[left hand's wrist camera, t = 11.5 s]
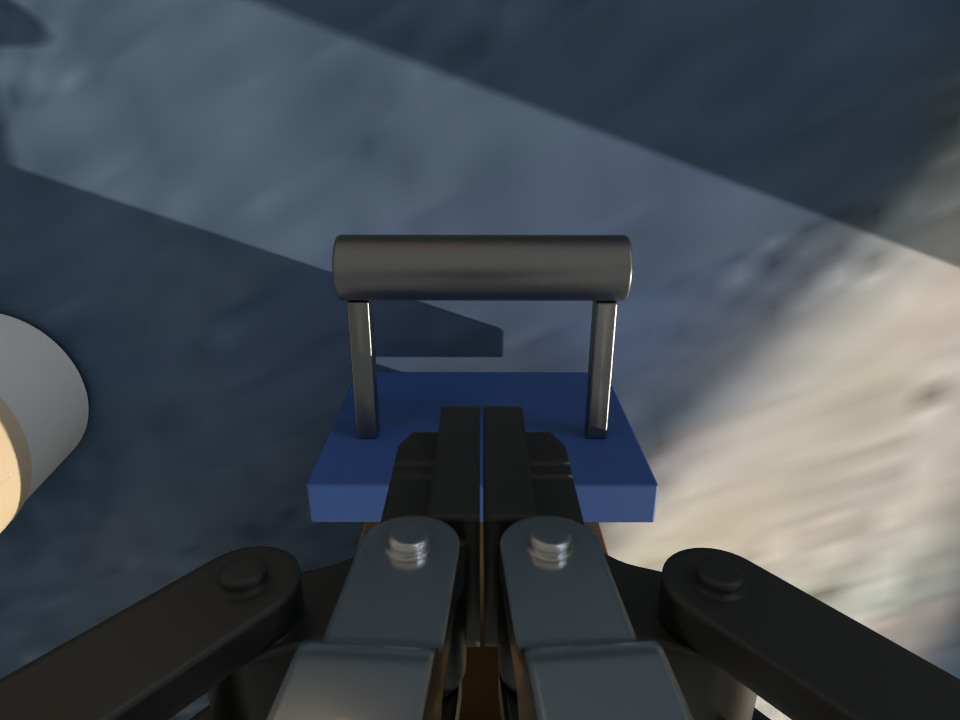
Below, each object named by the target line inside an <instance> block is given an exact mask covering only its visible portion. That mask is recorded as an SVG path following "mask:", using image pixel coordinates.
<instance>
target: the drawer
mask: <svg viewBox="0 0 960 720" xmlns="http://www.w3.org/2000/svg"><path fill="white" fill-rule="evenodd" d="M332 270H333V281H334V287H335V291H336V294H337V296H338V298H339V299H341V300H348V302H347V310H348V323H349V336H350V349H351V362H352V375H353V383H352V385H351V387H350V389H349V391H348V394H347V396H346V398H345V400H344V403H343V405H342V407H341V409H340V411H339V414H338V416H337V418H336V420H335V422H334V425H333V427H332V429H331V431H330V434H329V436H328V438H327V440H326V442H325V445H324V447H323V449H322V451H321V453H320V456H319V458H318V460H317V462H316V464H315V467H314V469H313V471H312V473H311V476H310V478H309V480H308V482H307V485H306V489H307V498H308V507H309V516H310V520H311V521H312V522H364V526H363V529H362V533H361V537H360V540H359V544H358V547H359V545H360V542H361V540H362V539H363V537H364V536H365V535H366V533H367V532H368V531H369V530H371V529H372V528H373V527H375V526H376V525H378V524H380V522H381V518H382V514H383V509H384V505H385V501H386V497H387V492H388V488H389V484H390V480H391V475H392V471H393V467H394V466H395V458H396V454H397V450H398V446H399V445H400V444H401V443H402V442H403V441H404V440H405V439H406V438H407V437H409V436H410V435H411V434H412V433H413V432H438V431H439V423H440V415H441V407H480V647H466V670H465V674H464V677H463V679H462V698H461V706H460V714H459V720H501V714H500V706H499V698H498V671H499V664H498V647H484V544H483V406H522V411H523V419H524V426H525V432H551V433H552V434H553V435H554V436H555V437H556V438H557V439H558V440H559V441H560V442H561V443H562V444H563V445H565V448H566V452H567V456H568V460H569V465H570V468H571V472H572V479H573V480H574V484H575V488H576V492H577V497H578V501H579V505H580V509H581V513H582V517H583V521H584V525H585V527H587V528H588V529H589V530H591V531H592V532H593V533H594V535H595V536H596V537H597V539H598V540H599V542H600V545H601V547H602V550H603V552H604V553H605V554H607V555H608V552H607V548H606V545H605V541H604V537H603V534H602V530H601V527H600V523H599V522H653V521H654V519H655V511H656V502H657V494H658V484H657V482H656V479H655V477H654V475H653V473H652V471H651V469H650V466H649V464H648V462H647V460H646V458H645V456H644V454H643V451H642V449H641V447H640V445H639V443H638V441H637V438H636V436H635V434H634V432H633V430H632V428H631V425H630V423H629V421H628V419H627V417H626V415H625V412H624V410H623V408H622V406H621V404H620V402H619V399H618V397H617V395H616V393H615V391H614V389H613V386H612V384H611V378H612V366H613V354H614V342H615V329H616V317H617V305H618V304H617V302H616V301H623V300H625V299H626V298H627V296H628V294H629V291H630V288H631V282H632V273H633V254H632V247H631V243H630V240H629V238H628V237H627V236H625V235H339V236H337V237H336V240H335V243H334V247H333V257H332ZM372 300H521V301H593V307H592V322H591V337H590V352H589V366H588V373H501V372H376V359H375V342H374V326H373V310H372ZM357 550H358V548H357ZM356 553H357V551H356ZM608 556H609V555H608Z"/></svg>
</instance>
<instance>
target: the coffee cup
mask: <svg viewBox="0 0 960 720" xmlns="http://www.w3.org/2000/svg"><path fill="white" fill-rule="evenodd" d="M88 415H89V405H88V397H87V393H86V389H85V386H84V383H83V380H82V378H81V376H80V374H79V372H78V370H77V368H76V367H75V365H74V364H73V362H72V361H71V359H70V358H69V357H68V355H67V354H66V353H65V352H64V351H63V350H62V349H61V348H60V347H59V346H58V345H57V344H56V343H55V342H54V341H53V340H52V339H51V338H49V337H48V336H47V335H45V334H44V333H43V332H41V331H40V330H38V329H36V328H35V327H33V326H31V325H29V324H27V323H25V322H23V321H21V320H19V319H16V318H13V317H10V316H7V315H3V314H0V533H1V532H2V531H3V530H4V529H5V527H6V526H7V525H8V524H9V523H10V522H11V521H12V520H13V519H14V517H15V516H16V515H17V514H18V512H19V511H20V510H21V508H22V506H23V505H24V503H25V501H26V500H27V499H28V498H29V497H30V496H31V495H32V494H33V493H34V492H35V490H36V489H37V488H38V487H39V486H40V485H41V484H42V483H43V482H44V481H45V480H46V479H47V478H48V477H49V475H50V474H51V473H52V472H53V471H54V470H55V469H56V468H57V467H58V466H59V465H60V464H61V463H62V462H63V460H64V459H65V458H66V457H67V456H68V455H69V454H70V453H71V452H72V451H73V450H74V449H75V448H76V446H77V445H78V444H79V442H80V440H81V439H82V437H83V435H84V432H85V430H86V426H87V422H88Z"/></svg>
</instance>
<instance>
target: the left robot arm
mask: <svg viewBox="0 0 960 720" xmlns="http://www.w3.org/2000/svg"><path fill="white" fill-rule="evenodd" d="M483 544H484V647H498V664H499V671H498V698H499V706H500V714H501V720H770V719H769V718H768V717H766V716H765V715H764V714H762V713H761V712H760V711H758V710H757V709H756V708H754V707H755V702H756V697H757V695H758V696H760V697H761V698H763V699H764V700H765V701H767V702H768V703H770V704H771V705H772V706H774V707H775V708H776V709H778V710H779V711H781V712H782V713H783V714H785V715H786V716H788V717H789V718H790V719H792V720H960V679H958V678H956V677H954V676H953V675H951V674H949V673H947V672H946V671H944V670H942V669H940V668H938V667H937V666H935V665H933V664H931V663H930V662H928V661H926V660H924V659H922V658H921V657H919V656H917V655H915V654H914V653H912V652H910V651H908V650H907V649H905V648H903V647H901V646H899V645H898V644H896V643H894V642H892V641H891V640H889V639H887V638H885V637H883V636H882V635H880V634H878V633H876V632H875V631H873V630H871V629H869V628H867V627H866V626H864V625H862V624H860V623H859V622H857V621H855V620H853V619H851V618H850V617H848V616H846V615H844V614H843V613H841V612H839V611H837V610H835V609H834V608H832V607H830V606H828V605H827V604H825V603H823V602H821V601H819V600H818V599H816V598H814V597H812V596H811V595H809V594H807V593H805V592H803V591H802V590H800V589H798V588H796V587H795V586H793V585H791V584H789V583H787V582H786V581H784V580H782V579H780V578H779V577H777V576H775V575H773V574H771V573H770V572H768V571H766V570H764V569H763V568H761V567H759V566H757V565H755V564H754V563H752V562H750V561H748V560H746V559H744V558H742V557H740V556H738V555H735V554H733V553H730V552H726V551H723V550H718V549H712V548H692V549H686V550H683V551H679V552H677V553H675V554H673V555H672V556H671V557H670V558H668V560H667V561H666V562H665V564H664V566H663V570H662V572H660V571H655V570H651V569H646V568H642V567H637V566H634V565H630V564H626V563H624V562H621V561H618V560H616V559H614V558H612V557H610V556H608V555H607V554H605V553H604V552H603V550H602V547H601V545H600V542H599V540H598V539H597V537H596V536H595V535H594V533H593V532H592V531H591V530H589V529H588V528H587V527H585V525H584V521H583V517H582V513H581V509H580V505H579V501H578V497H577V492H576V488H575V484H574V480H573V479H572V472H571V468H570V465H569V460H568V456H567V452H566V448H565V445H563V444H562V443H561V442H560V441H559V440H558V439H557V438H556V437H555V436H554V435H553V434H552V433H551V432H525V426H524V419H523V411H522V406H483ZM466 647H480V407H441V415H440V423H439V431H438V432H413V433H412V434H411V435H410V436H409V437H407V438H406V439H405V440H404V441H403V442H402V443H401V444H400V445H399V446H398V450H397V454H396V458H395V466H394V467H393V471H392V475H391V480H390V484H389V488H388V492H387V497H386V501H385V505H384V509H383V514H382V518H381V522H380V524H378V525H376V526H375V527H373V528H372V529H371V530H369V531H368V532H367V533H366V535H365V536H364V537H363V539H362V540H361V542H360V545H359V547H358V550H357V553H356V555H355V557H353V558H351V559H349V560H347V561H344V562H342V563H339V564H336V565H332V566H328V567H324V568H320V569H315V570H311V571H306V572H302V573H300V567H299V564H298V562H297V560H296V559H295V558H294V557H293V556H292V555H291V554H290V553H288V552H286V551H284V550H281V549H278V548H273V547H262V546H258V547H248V548H242V549H238V550H235V551H231V552H229V553H226V554H223V555H221V556H219V557H217V558H215V559H213V560H212V561H210V562H208V563H206V564H205V565H203V566H201V567H199V568H197V569H196V570H194V571H192V572H190V573H189V574H187V575H185V576H183V577H181V578H180V579H178V580H176V581H174V582H173V583H171V584H169V585H167V586H165V587H164V588H162V589H160V590H158V591H157V592H155V593H153V594H151V595H149V596H148V597H146V598H144V599H142V600H141V601H139V602H137V603H135V604H133V605H132V606H130V607H128V608H126V609H125V610H123V611H121V612H119V613H117V614H116V615H114V616H112V617H110V618H109V619H107V620H105V621H103V622H101V623H100V624H98V625H96V626H94V627H93V628H91V629H89V630H87V631H85V632H84V633H82V634H80V635H78V636H77V637H75V638H73V639H71V640H70V641H68V642H66V643H64V644H62V645H61V646H59V647H57V648H55V649H54V650H52V651H50V652H48V653H46V654H45V655H43V656H41V657H39V658H38V659H36V660H34V661H32V662H30V663H29V664H27V665H25V666H23V667H22V668H20V669H18V670H16V671H14V672H13V673H11V674H9V675H7V676H6V677H4V678H2V679H0V720H168V719H170V718H171V717H172V716H174V715H175V714H177V713H178V712H179V711H181V710H182V709H184V708H185V707H186V706H188V705H189V704H191V703H192V702H193V701H195V700H196V699H197V698H199V697H200V696H202V695H203V694H204V693H206V692H208V697H209V702H210V705H209V706H207V707H206V708H204V709H203V710H202V711H200V712H199V713H198V714H196V715H195V716H194V717H192V718H191V719H190V720H459V714H460V706H461V698H462V679H463V677H464V674H465V670H466Z"/></svg>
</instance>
